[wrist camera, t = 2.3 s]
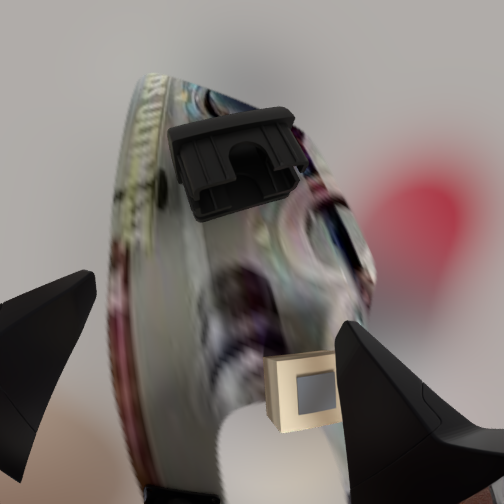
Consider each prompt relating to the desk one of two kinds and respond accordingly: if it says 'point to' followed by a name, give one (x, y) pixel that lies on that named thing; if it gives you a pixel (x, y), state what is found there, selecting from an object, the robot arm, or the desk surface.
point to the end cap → (236, 161)
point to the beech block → (302, 390)
